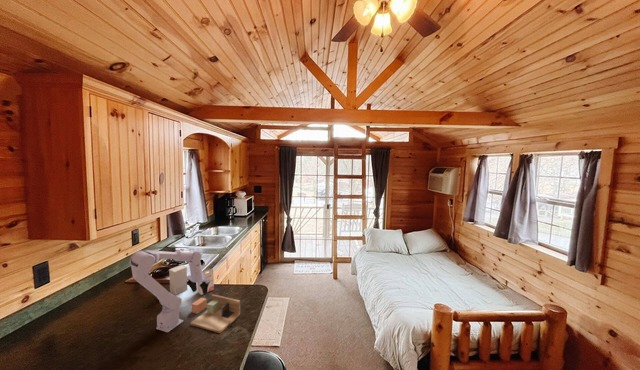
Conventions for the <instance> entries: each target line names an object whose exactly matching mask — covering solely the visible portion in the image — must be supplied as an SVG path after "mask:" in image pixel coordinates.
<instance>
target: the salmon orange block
mask: <svg viewBox="0 0 640 370" xmlns="http://www.w3.org/2000/svg"><path fill="white" fill-rule="evenodd" d="M207 304H208V298H204V297H200V298H198V299H197V300H195V301H193V302H192V303H191V313H193V314H199V313H201V312H203V310H205V309H207Z"/></svg>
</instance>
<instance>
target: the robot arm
mask: <svg viewBox="0 0 640 370" xmlns="http://www.w3.org/2000/svg"><path fill="white" fill-rule="evenodd" d="M202 256H203V254H202V253H201V252H200V251H197V250H194V249H188V250H187V249H184V248H180V249H177V250H175V251H167V250H166V251H164V250H152V249H151V250H149V249H147V250H136V251H135V252H133V253H132V255H131V256H130V259H129V265H130V268H131V274H132V278H133V279H134V280H135V281H136V282H137V283H138V284H139V285H141V286H142V287H144V288H145V289H146V290H147V291H149V292H150V293H151V294H152V295H153V296H155V297H156V298H157V300H159V304H160V305H161V306H162V310H161V311H160V313H158V314H157V316H156V329H155V330H159V331H162V332H165V333H169V332H171V330H173V329H175V328H177V326H180V324H182V323H183V322H184V319H180V307H181V305H182V303H183V301H182V298H181V297H180V296H177V295H175V294H173V293H171V292H170V291H168V290H167V289H166V288H165V287H164V286H163V285H162V284H161V283H159V282H158V281H157V280H155V278H153V277H152V276H151V274H149V273H150V271H151V270H152V268H153V266H154V265H155V264H157V263H158V262H159V261H160V260H170V259H171V260H174V261H175V262H188V267H189V272H190V274H189V275H188V274H187V277H186V279H187V286H188V287H189V288H190V289H191V291H192V292H193V293H195V292H196V291H198V285H197V282H202V284H200V287H201V288H202V291H203V295H206V294H207V293H208V292H207V290H208V285H209V282H210V280H209V279H208V278H206V277H205V276H204V274H203V273H202V272H203V268H202V263H201V259H202Z"/></svg>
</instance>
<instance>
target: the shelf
mask: <svg viewBox="0 0 640 370" xmlns="http://www.w3.org/2000/svg"><path fill="white" fill-rule="evenodd" d="M214 299H215V300H220V309H219V310H218V311H217V312H216V313H214V314H210V313H207V310H205V311H204V312H203V313H201V314H200V315H199V316H198V317H196V318H195V319H194V320H192V321H191V322H190V326H193V327H198V328H200V329H204V330H206V331H207V330H208V331H210V332H215V333H217V334H221V333H223V331H224V330H226V329H227V328H228V327H229V326H230V325H231V324H232V323H233V322H234V321H235V320H237V318H238V317H240V315H241V300H239V299H235V298H231V297H226V296H222V295H219V294H211V301H212V300H214ZM226 303H229V311H232V312H234V313H233V314H232V315H231V316H230V317H229V318H225V317H221V307H223V306H224V305H225V304H226Z"/></svg>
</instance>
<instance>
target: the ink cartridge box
mask: <svg viewBox="0 0 640 370" xmlns="http://www.w3.org/2000/svg"><path fill="white" fill-rule="evenodd" d="M202 273H203V274H204V276H205V277H206V278H208V279H209V280H210V282H209V285H208V290H207V293H209V292H211V291H214V290H215V283H214V281H215V279H214V277H215V276H214V269H213V268H210V269H206V270H204V271H202ZM196 284H197V293H198V294H199V295H201V296H202V295H204V294H203V291H202V288H201V287H200V284H202V282H196Z"/></svg>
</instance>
